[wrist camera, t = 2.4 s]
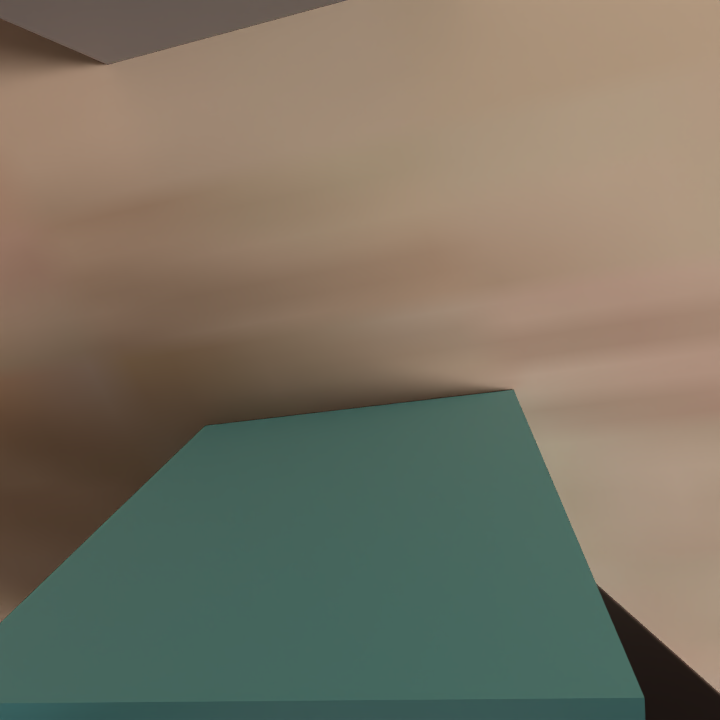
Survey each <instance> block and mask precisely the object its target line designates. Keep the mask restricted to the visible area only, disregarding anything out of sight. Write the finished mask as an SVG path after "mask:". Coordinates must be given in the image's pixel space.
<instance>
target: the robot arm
mask: <svg viewBox="0 0 720 720" xmlns="http://www.w3.org/2000/svg"><path fill="white" fill-rule="evenodd" d="M596 585H597V584H596ZM597 587H598V590H599V592H600V594H601V597H602V599H603V601H604V604H605V606H606V608H607V611H608V613H609V615H610V618H611V620H612V623H613V625H614V627H615V630H616V632H617V634H618V637H619V639H620V641H621V644H622V646H623V648H624V651H625V653H626V655H627V658H628V660H629V663H630V665H631V667H632V670H633V672H634V674H635V677H636V679H637V681H638V684H639V686H640V688H641V691H642V693H643V695H644V698H645V720H720V693H719V692H718V691H716V690H715V689H714V688H713V687H712V686H711V685H710V684H709V683H707V682H706V681H705V680H704V679H703V678H702V677H701V676H700V675H698V674H697V673H696V672H695V671H694V670H693V669H692V668H691V667H689V666H688V665H687V664H686V663H685V662H684V661H683V660H682V659H680V658H679V657H678V656H677V655H676V654H675V653H674V652H673V651H671V650H670V649H669V648H668V647H667V646H666V645H665V644H664V643H662V642H661V641H660V640H659V639H658V638H657V637H656V636H655V635H653V634H652V633H651V632H650V631H649V630H648V629H647V628H646V627H644V626H643V625H642V624H641V623H640V622H639V621H638V620H637V619H635V618H634V617H633V616H632V615H631V614H630V613H629V612H627V611H626V610H625V609H624V608H623V607H622V606H621V605H620V604H618V603H617V602H616V601H615V600H614V599H613V598H612V597H611V596H609V595H608V594H607V593H606V592H605V591H604V590H603V589H602V588H600V587H599V586H598V585H597Z"/></svg>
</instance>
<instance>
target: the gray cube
mask: <svg viewBox="0 0 720 720" xmlns="http://www.w3.org/2000/svg"><path fill="white" fill-rule="evenodd" d="M342 1H346V0H0V19H3V20H5V21H7V22H10V23H12V24H14V25H17V26H19V27H21V28H24V29H26V30H28V31H31V32H33V33H35V34H37V35H40V36H42V37H44V38H47V39H49V40H51V41H54V42H56V43H58V44H61V45H63V46H65V47H68V48H70V49H72V50H75V51H77V52H79V53H82V54H84V55H86V56H89V57H91V58H93V59H96V60H98V61H100V62H102V63H105V64H107V65H108V64H112V63H116V62H119V61H123V60H127V59H131V58H134V57H138V56H142V55H145V54H149V53H153V52H157V51H160V50H164V49H168V48H171V47H175V46H179V45H183V44H186V43H190V42H194V41H197V40H201V39H205V38H208V37H212V36H216V35H220V34H223V33H227V32H231V31H234V30H238V29H242V28H246V27H249V26H253V25H257V24H260V23H264V22H268V21H272V20H275V19H279V18H283V17H286V16H290V15H294V14H297V13H301V12H305V11H309V10H312V9H316V8H320V7H323V6H327V5H331V4H335V3H338V2H342Z"/></svg>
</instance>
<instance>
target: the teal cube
mask: <svg viewBox="0 0 720 720" xmlns="http://www.w3.org/2000/svg"><path fill="white" fill-rule="evenodd" d="M0 720H645V698H644V695H643V693H642V691H641V688H640V686H639V684H638V681H637V679H636V677H635V674H634V672H633V670H632V667H631V665H630V663H629V660H628V658H627V655H626V653H625V651H624V648H623V646H622V644H621V641H620V639H619V637H618V634H617V632H616V630H615V627H614V625H613V623H612V620H611V618H610V615H609V613H608V611H607V608H606V606H605V604H604V601H603V599H602V597H601V594H600V592H599V590H598V587H597V585H596V583H595V580H594V578H593V575H592V573H591V571H590V568H589V566H588V564H587V561H586V559H585V557H584V554H583V552H582V550H581V547H580V545H579V543H578V540H577V538H576V535H575V533H574V531H573V528H572V526H571V524H570V521H569V519H568V517H567V514H566V512H565V510H564V507H563V505H562V502H561V500H560V498H559V495H558V493H557V491H556V488H555V486H554V484H553V481H552V479H551V477H550V474H549V472H548V470H547V467H546V465H545V462H544V460H543V458H542V455H541V453H540V451H539V448H538V446H537V444H536V441H535V439H534V437H533V434H532V432H531V430H530V427H529V425H528V422H527V420H526V418H525V415H524V413H523V411H522V408H521V406H520V404H519V401H518V399H517V397H516V394H515V392H514V390H507V391H498V392H490V393H481V394H473V395H464V396H456V397H447V398H438V399H430V400H421V401H413V402H404V403H396V404H387V405H378V406H370V407H361V408H353V409H344V410H336V411H327V412H318V413H310V414H301V415H293V416H284V417H276V418H267V419H259V420H250V421H241V422H233V423H224V424H216V425H207V426H204V427H203V428H202V429H201V430H200V431H199V432H198V433H197V434H196V435H195V436H194V437H193V438H192V439H191V440H190V441H189V442H188V443H187V444H186V445H185V446H184V447H183V448H182V449H180V450H179V451H178V452H177V453H176V454H175V455H174V456H173V457H172V458H171V459H170V460H169V461H168V462H167V463H166V464H165V465H164V466H163V467H162V468H161V469H160V470H159V471H158V472H157V473H156V474H154V475H153V476H152V477H151V478H150V479H149V480H148V481H147V482H146V483H145V484H144V485H143V486H142V487H141V488H140V489H139V490H138V491H137V492H136V493H135V494H134V495H133V496H132V497H131V498H130V499H129V500H127V501H126V502H125V503H124V504H123V505H122V506H121V507H120V508H119V509H118V510H117V511H116V512H115V513H114V514H113V515H112V516H111V517H110V518H109V519H108V520H107V521H106V522H105V523H104V524H103V525H102V526H100V527H99V528H98V529H97V530H96V531H95V532H94V533H93V534H92V535H91V536H90V537H89V538H88V539H87V540H86V541H85V542H84V543H83V544H82V545H81V546H80V547H79V548H78V549H77V550H76V551H74V552H73V553H72V554H71V555H70V556H69V557H68V558H67V559H66V560H65V561H64V562H63V563H62V564H61V565H60V566H59V567H58V568H57V569H56V570H55V571H54V572H53V573H52V574H51V575H50V576H49V577H47V578H46V579H45V580H44V581H43V582H42V583H41V584H40V585H39V586H38V587H37V588H36V589H35V590H34V591H33V592H32V593H31V594H30V595H29V596H28V597H27V598H26V599H25V600H24V601H23V602H22V603H20V604H19V605H18V606H17V607H16V608H15V609H14V610H13V611H12V612H11V613H10V614H9V615H8V616H7V617H6V618H5V619H4V620H3V621H2V622H1V623H0Z"/></svg>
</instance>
